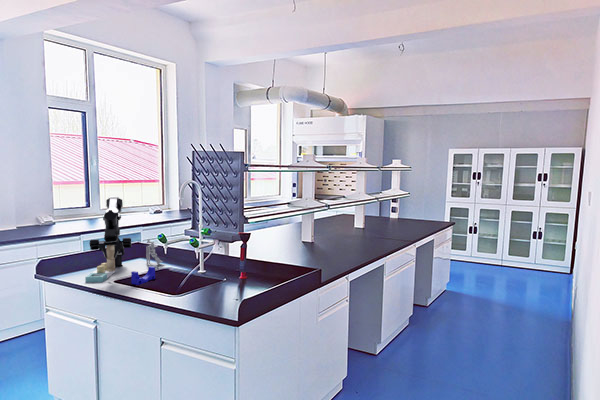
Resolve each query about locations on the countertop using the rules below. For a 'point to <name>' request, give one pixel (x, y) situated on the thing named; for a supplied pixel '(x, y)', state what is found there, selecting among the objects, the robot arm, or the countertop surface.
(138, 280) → the blue saddle block
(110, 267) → the birch pin
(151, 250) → the clamp
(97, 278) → the pin board
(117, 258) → the robot arm
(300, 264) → the countertop surface
